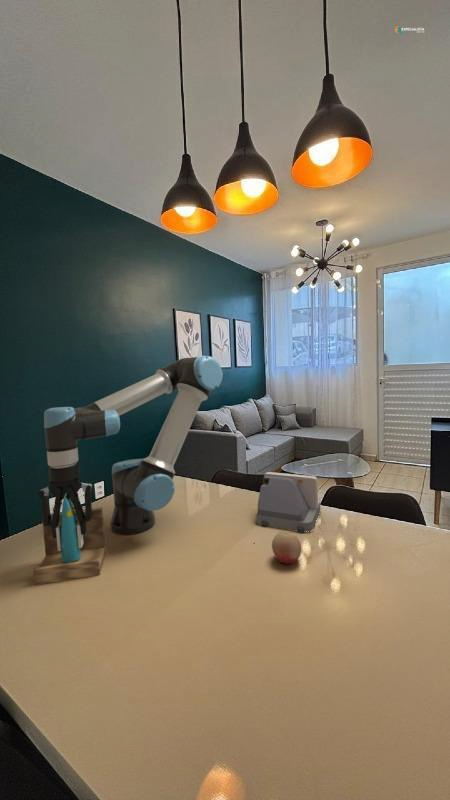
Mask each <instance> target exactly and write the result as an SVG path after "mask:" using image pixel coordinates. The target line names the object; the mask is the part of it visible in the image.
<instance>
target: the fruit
mask: <svg viewBox="0 0 450 800" xmlns="http://www.w3.org/2000/svg"><path fill="white" fill-rule="evenodd" d="M271 550H272V553H273V554H274V556H275V558H276V559H277V560H278V561H279V562H281V563H282V564H285V565H288V564H289V565H290V564H293V563H296V561H297V560H298V559H299V557H300V556H301V552H302V545H301V542H300V539H299V537H298V536H297V535H296V534H294V533H290V532H288V531H285V530H284V531H278V532H277V533H276V534H275V535H274V537H273V539H272V542H271Z"/></svg>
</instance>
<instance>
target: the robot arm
mask: <svg viewBox="0 0 450 800" xmlns="http://www.w3.org/2000/svg"><path fill="white" fill-rule="evenodd" d="M222 380H223V370H222V366H221V364H220V362H219V361H218V360H217V359H216V358H214V357H213V356H210V355H199V356H193V357H192V356H191V357H183V358H180V359H177V360H176V361H174V362H171V363H169V364H168V365H165V366H163V367H161V368H159V369H157V370H156V372H155V374H153V375H151V376H149V377H147V378H145V379H142V380H140V381H138V382H136V383H134V384H131V385H130V386H127V387H125V388H123V389H121V390H118V391H116V392H114V393H112V394H109V395H108V396H105V397H103V398H101V399H98V400H96V401H95V402H93V403H90V404H88V405H86V406H83V407H76V408H74V407H72V406H63V407H62V406H61V407H60V406H58V407H51V408H48V409H45V410H44V413H43V420H44V421H43V422H44V423H43V428H44V435H45V445H46V457H47V465H48V466H49V467H48V468H47V470H48V478H49V481H48V482H49V484H48V486H47V487H45V488H44V487H42V488H41V489H40V490H39V491H38V492H37V495H38V496H39V498H40V500H41V501H40V502H41V512H42V516H43V521H42V524H43V523H44V526H50V527H52V534H53V538H57V547H58V551H61V550H62V549H61V524H58V522H59V515H60V513H61V510H62V504H63V499H64V496H65V494H66V493H67V494H66V498H68V499H70V500H71V502H72V504H73V508H74V511H75V512H76V515H77V517H78V520H79V522H78V524H77V535H78V546H79V548H82V546H83V543H84V542H83V535H84V534H85V533H86V522H87V521H90V520H91V518H92V509H93V507H92V506H93V505H92V493H91V492H92V489H93V484H92V483H91V482H90V483H87V482H86V483H85V482H83V481H82V479H81V474H80V471H81V470H80V464H79V463H78V461H79V449H78V441H81V440H90V439H95V438H103V437H110V436H113V435H116V434H118V433H119V432H120V428H121V420H120V416H121V415H124V414H126V413H128V412H129V411H132V410H133V409H136V408H137V407H140V406H141V405H144V404H145V403H148V402H150V401H152V400H154V399H155V398H157V397H159V396H161V395H163V394H167V395H169V394H171V393H173V392H176V391H177V393H176V396H175V399H174V401H173V404H172V405H171V407H170V409H169V412H168V414H167V415H166V419H165V420H164V423H163V425H162V426H161V429H160V431H159V433H158V436H157V437H156V440H155V442H154V445H153V447H152V449H151V451H150V453H149V455H148V456H146V457H145V458H135V459H126V460H123V461H118V462H116V463H113V465H112V467H111V478H112V480H111V481H112V488H113V489H112V491H113V503H114V507H113V511H112V515H111V519H110V531H111V532H113V534H116V535H123V536H125V535H126V536H128V535H137V534H139V533H142V532H146V531H148V530H149V529H151V528H153V526H155V524H156V515H155V513H154V512H155V511H159V510H161V509H162V508H165V507H166V506H167V505H169V503H170V502H171V501H172V499H173V497H174V495H175V483H174V480H173V479H174V477H175V475H176V471H175V468H174V465H175V464H176V461H177V459H178V457H179V454H180V453H181V452H180V451H181V449H182V447H183V445H184V443H185V440H186V438H187V435H188V434H189V431H190V429H191V427H192V424H193V422H194V419H195V417H196V415H197V413H198V411H199V408H200V406H201V403H202V402H204V401H207V400H208V398H209V396H210V394H211V392H212V391H214V390H216V389H217V388H219V387H220V385H221V384H222ZM80 489H82V492H84V494H83V495H84V508H85V509H83V506H82V504H81V501H80V497H79V493H78V492H79V490H80ZM50 493H51V494H52V495H54V496H55V497H54V498H55V499H54V505H53V511H52V513H53V517H52V520H51V514H52V513H51V507H50V505H51V504H50ZM83 510H85V511H86V516H85V514H84V512H83Z"/></svg>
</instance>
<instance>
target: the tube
mask: <svg viewBox="0 0 450 800" xmlns="http://www.w3.org/2000/svg"><path fill="white" fill-rule="evenodd" d="M66 494H67V493H66ZM66 494H65V496H64V499H62V504H61V512H62V520H61V549H62V561H63V562H65V563H70V562H74V561H76V560H78V559H79V558H80V557H81V550H80V548H79V546H78V535H77V523H76V518H75V513H74V511H75V509H74V506H73V503H72V502H71V500H70V499H68V498H66Z"/></svg>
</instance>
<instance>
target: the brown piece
mask: <svg viewBox="0 0 450 800" xmlns="http://www.w3.org/2000/svg"><path fill="white" fill-rule="evenodd" d="M83 512H84V514H85V516H86V511H85V509H83ZM74 513H75V518H76V523H77V524H78V522H79V520H78V517H77V515H76V512H75V510H74ZM50 514H51V520H52V517H53V512H52V513H50ZM41 520H42V529H43V532H42V533H43V541H44V552H45V556H44V558H43V559H42V561H41V563H40V564H39V565H38V567H34V568H33V569H32V574H33V585H34V586H37V585H42V584H49V583H50V584H51V583H56V582H63V581H69V580H75V579H81V578H87V577H88V578H89V577H94V576H100V575H101V571H102V568H103V564H104V561H105V557H106V554H107V551H106V550H107V549H106V539H105V538H106V537H105V527H104V524H105V523H104V514H103V507H97V508H96V507H95V508H92V518H91V520H90V521H87V522H86V533H85V534H84V535H83V542H84V543H83V546H82V548H80V550H81V557H80V558H79V559H78V560H76V561H74V562H70V563H65V562H63V561H62V550H61V551H58V547H57V538H53V534H52V527H50V526H44V523H43V515H42V516H41ZM61 520H62V511H60V515H59V522H58V524H61Z"/></svg>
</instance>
